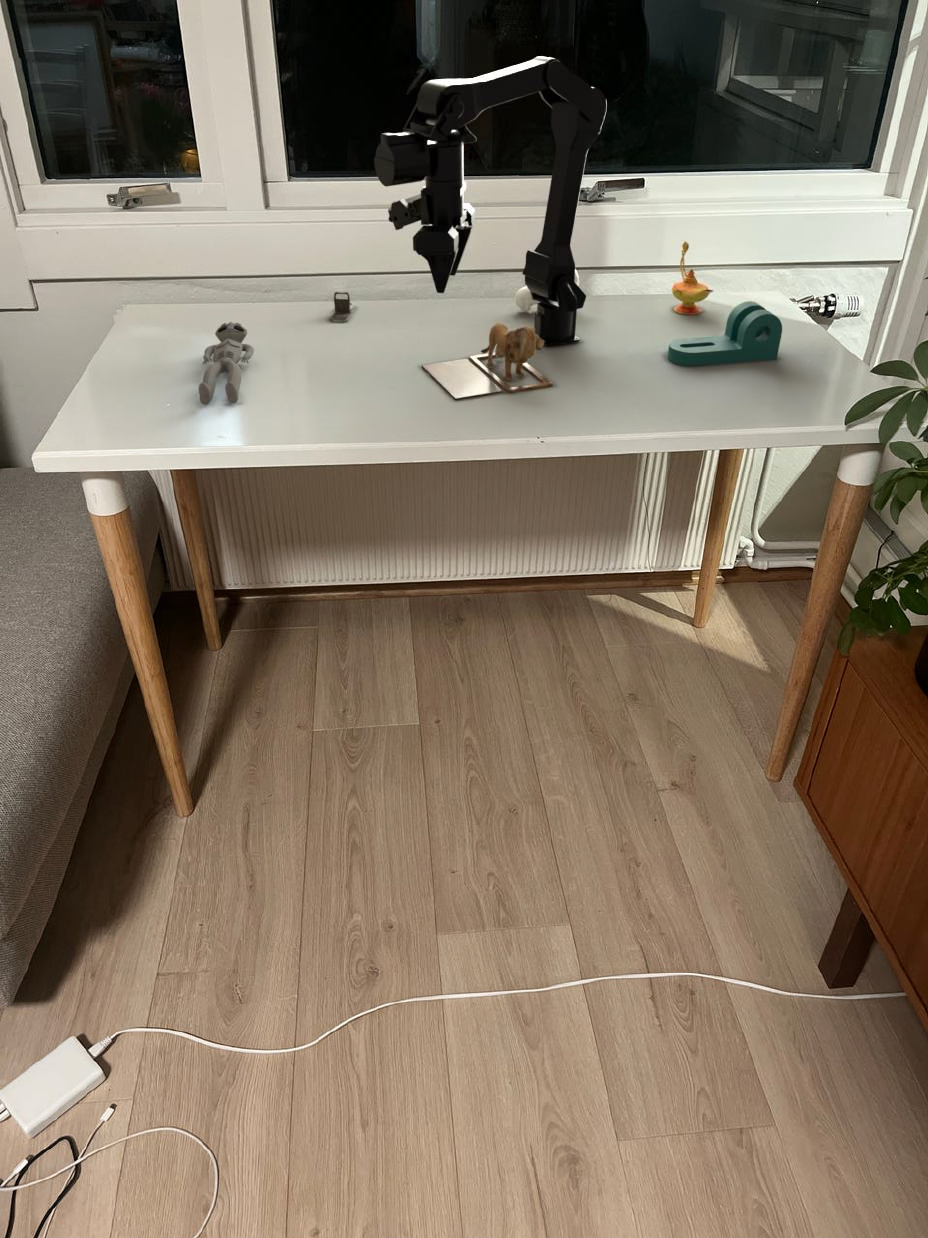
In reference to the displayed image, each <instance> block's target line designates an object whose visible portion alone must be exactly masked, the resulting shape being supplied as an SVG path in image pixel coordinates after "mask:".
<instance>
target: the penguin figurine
mask: <svg viewBox="0 0 928 1238" xmlns="http://www.w3.org/2000/svg"><path fill="white" fill-rule="evenodd" d="M579 278H580V276H579V273H578V271H577V269H576V268H575V283H576V284H577V285H578V287H579V288H580V280H579ZM514 298H515V299H514V301H515V304H516V306H518V308H520V311H521V312H522V313H525V312H526V313H528V314H530V310H531V309H532V307H533V306H535V305H536V306H537V303H541V302H538V301H536V300H533V299H532V296H531V292H530V290H529V289H528V287H527V285H525V286H524V287H520V288H519V289H518V290H517V291H516V293H515V296H514Z"/></svg>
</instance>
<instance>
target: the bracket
mask: <svg viewBox="0 0 928 1238" xmlns="http://www.w3.org/2000/svg"><path fill="white" fill-rule="evenodd" d="M782 335H783V324H782V321H781V319H780V318H779V317H778V316H777V315H775V314H774V313H772V312H771V311H769V310H767V309H766V308H765V307H763V306H762V305H761V304H759V303H757V302H756V301H752V300H748V301H743V302H741V303H739V304H737V305H736V306H735V307H734V308H733V309H732V310H731V312H730V313H729V314H728V317H727V320H726V325H725V332H724V334H722V335H713V336H711V335H710V336H699V337H685V338H677V339H672V340H671V341H670V342H669V343H668V350H667V360H668V361H670V362H671V363H673V364H675V365H678V366H680V365H681V366H686V367H696V366H710V365H721V364H734V363H735V364H736V363H746V362H758V361H769V360H777V359H778V353H779V351H780V344H781V340H782Z"/></svg>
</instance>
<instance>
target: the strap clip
mask: <svg viewBox="0 0 928 1238" xmlns="http://www.w3.org/2000/svg"><path fill="white" fill-rule="evenodd" d="M337 295H346V296H347V298H337ZM333 304H334V305H333V306H334V311H335V312H334V314H333V315H332V316H331V321H332V322H346V321H348V320H349V318H350V314H352V313H353V311H354V310H355V303H351V296H350V293H349V292H347V291H335V292H334V294H333Z"/></svg>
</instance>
